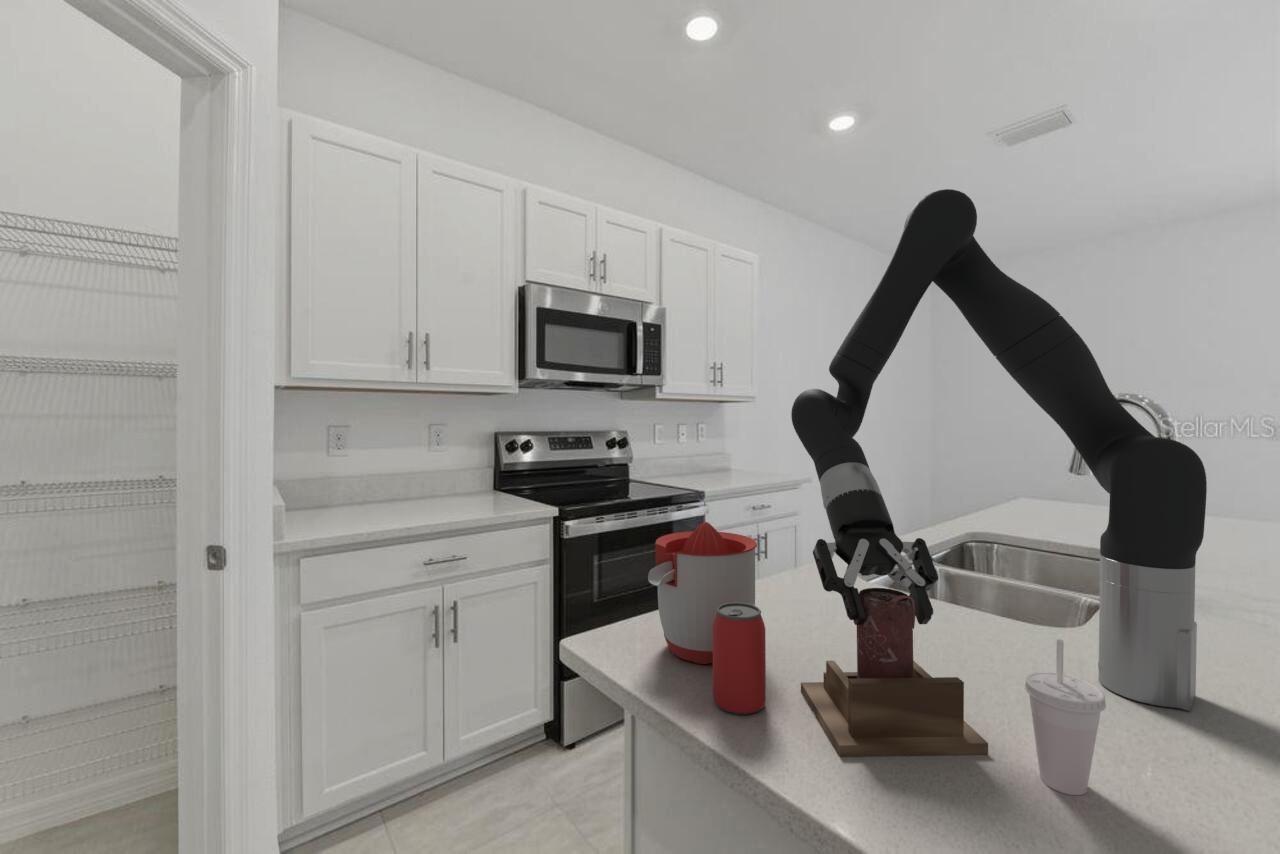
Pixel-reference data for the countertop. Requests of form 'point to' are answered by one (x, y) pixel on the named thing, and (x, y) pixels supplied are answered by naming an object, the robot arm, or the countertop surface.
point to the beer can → (739, 658)
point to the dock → (892, 714)
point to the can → (885, 634)
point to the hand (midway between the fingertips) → (893, 621)
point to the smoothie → (1064, 726)
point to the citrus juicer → (700, 585)
